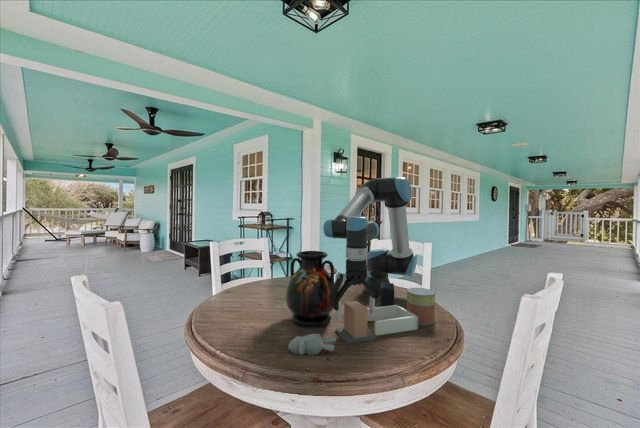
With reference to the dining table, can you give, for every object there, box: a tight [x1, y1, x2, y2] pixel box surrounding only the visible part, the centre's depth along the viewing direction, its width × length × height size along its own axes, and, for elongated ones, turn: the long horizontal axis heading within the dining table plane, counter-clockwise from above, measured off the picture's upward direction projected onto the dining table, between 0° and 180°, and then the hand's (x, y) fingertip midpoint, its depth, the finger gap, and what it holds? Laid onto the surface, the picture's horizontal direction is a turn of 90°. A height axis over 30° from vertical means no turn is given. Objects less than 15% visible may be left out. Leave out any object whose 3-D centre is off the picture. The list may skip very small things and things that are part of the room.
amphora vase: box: [284, 250, 336, 328], centre depth 125 cm, size 22×22×28 cm
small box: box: [379, 282, 395, 307], centre depth 142 cm, size 11×6×10 cm, turn 168°
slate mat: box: [335, 326, 377, 344], centre depth 111 cm, size 11×11×1 cm
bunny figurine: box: [287, 333, 337, 356], centre depth 98 cm, size 10×5×15 cm
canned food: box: [406, 287, 436, 326], centre depth 127 cm, size 11×11×12 cm
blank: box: [343, 300, 368, 338], centre depth 111 cm, size 5×9×10 cm, turn 19°
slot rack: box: [366, 304, 419, 337], centre depth 121 cm, size 19×14×5 cm
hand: (355, 316), depth 111 cm, fingers open, 13 cm apart
